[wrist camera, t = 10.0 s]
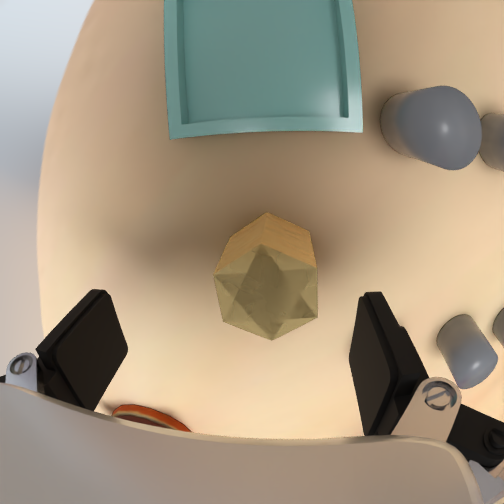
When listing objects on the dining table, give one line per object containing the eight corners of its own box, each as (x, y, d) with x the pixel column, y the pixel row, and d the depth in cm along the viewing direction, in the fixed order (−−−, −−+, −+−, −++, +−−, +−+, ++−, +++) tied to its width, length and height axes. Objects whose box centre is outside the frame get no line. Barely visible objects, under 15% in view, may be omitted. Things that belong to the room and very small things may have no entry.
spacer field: (379, 89, 11) (413, 78, 8) (556, 137, 9) (595, 148, 6) (354, 360, 18) (363, 407, 14) (509, 337, 16) (531, 367, 12)
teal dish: (175, -7, 10) (164, -18, 8) (341, -18, 9) (346, -31, 7) (181, 137, 13) (169, 139, 12) (354, 131, 12) (362, 132, 11)
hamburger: (174, 403, 22) (152, 467, 16) (210, 452, 26) (199, 504, 20) (95, 397, 24) (69, 445, 18) (139, 445, 27) (123, 488, 21)
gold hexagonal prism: (226, 215, 15) (207, 247, 11) (307, 208, 14) (316, 239, 10) (239, 294, 16) (227, 341, 13) (311, 290, 16) (317, 337, 12)
